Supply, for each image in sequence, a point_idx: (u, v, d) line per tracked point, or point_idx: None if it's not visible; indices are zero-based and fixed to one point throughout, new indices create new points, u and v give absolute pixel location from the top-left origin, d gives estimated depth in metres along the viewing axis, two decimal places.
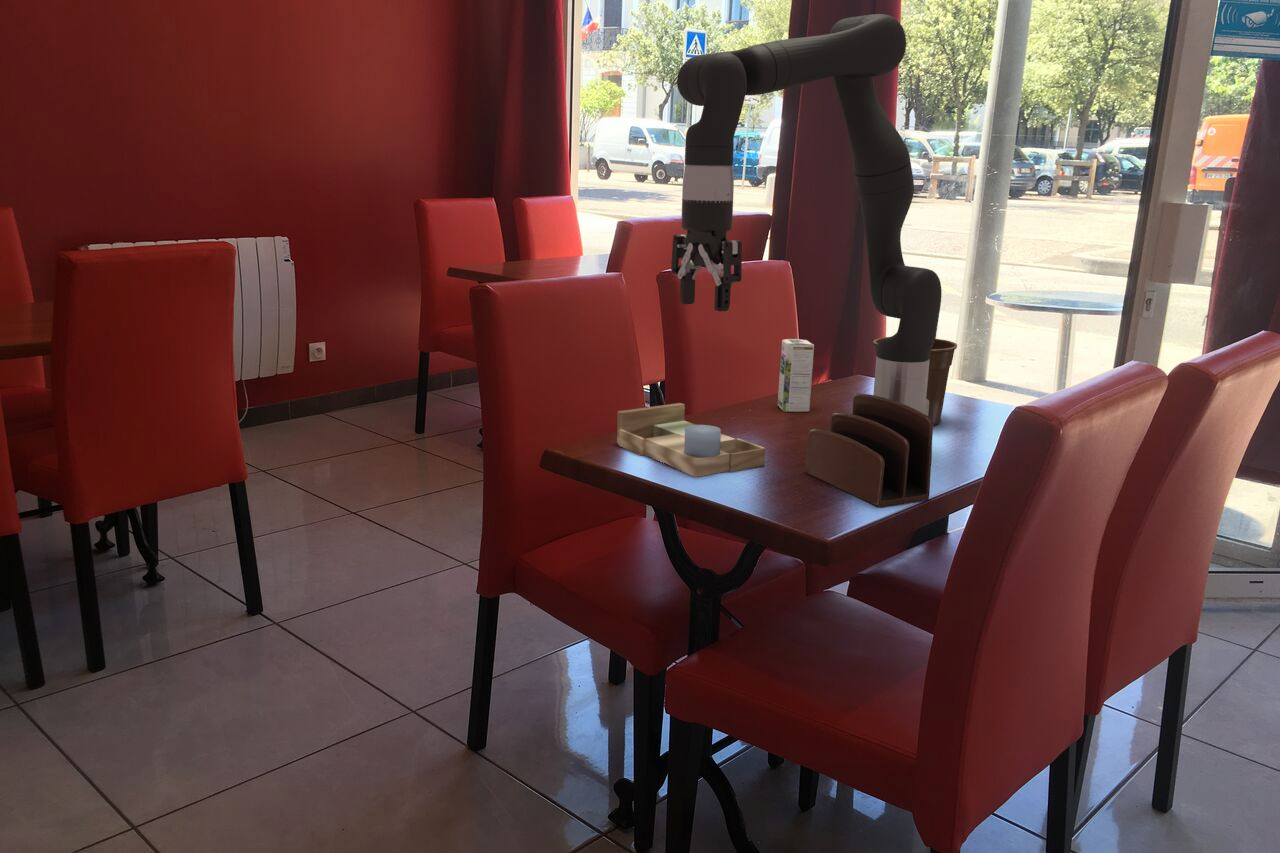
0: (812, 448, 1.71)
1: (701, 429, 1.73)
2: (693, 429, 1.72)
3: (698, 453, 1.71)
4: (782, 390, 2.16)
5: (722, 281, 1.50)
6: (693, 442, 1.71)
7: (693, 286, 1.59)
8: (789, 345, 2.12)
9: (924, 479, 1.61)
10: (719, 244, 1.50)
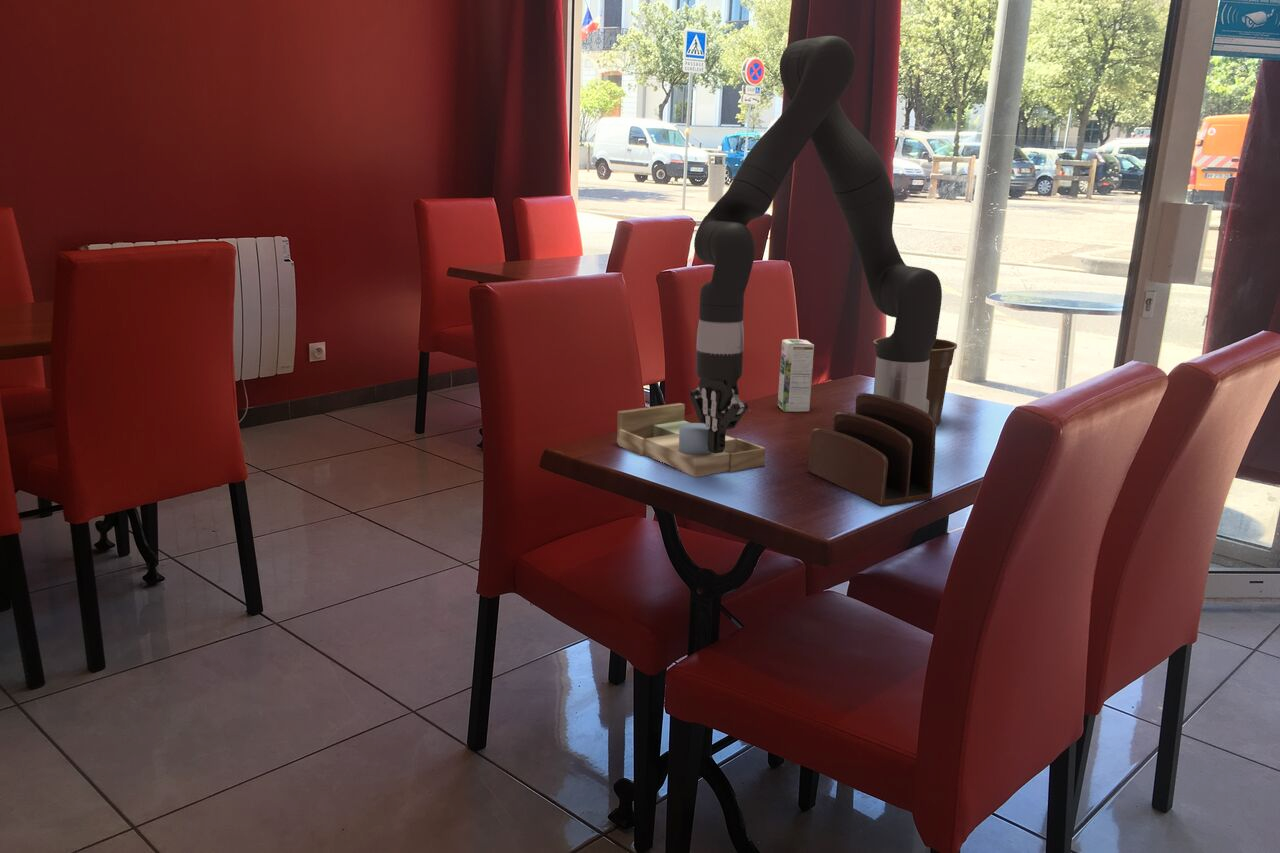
0: (815, 447, 1.72)
1: (696, 427, 1.74)
2: (688, 427, 1.74)
3: (693, 451, 1.72)
4: (782, 390, 2.16)
5: (717, 430, 1.68)
6: (688, 440, 1.72)
7: None
8: (789, 345, 2.12)
9: (927, 478, 1.61)
10: (730, 396, 1.64)
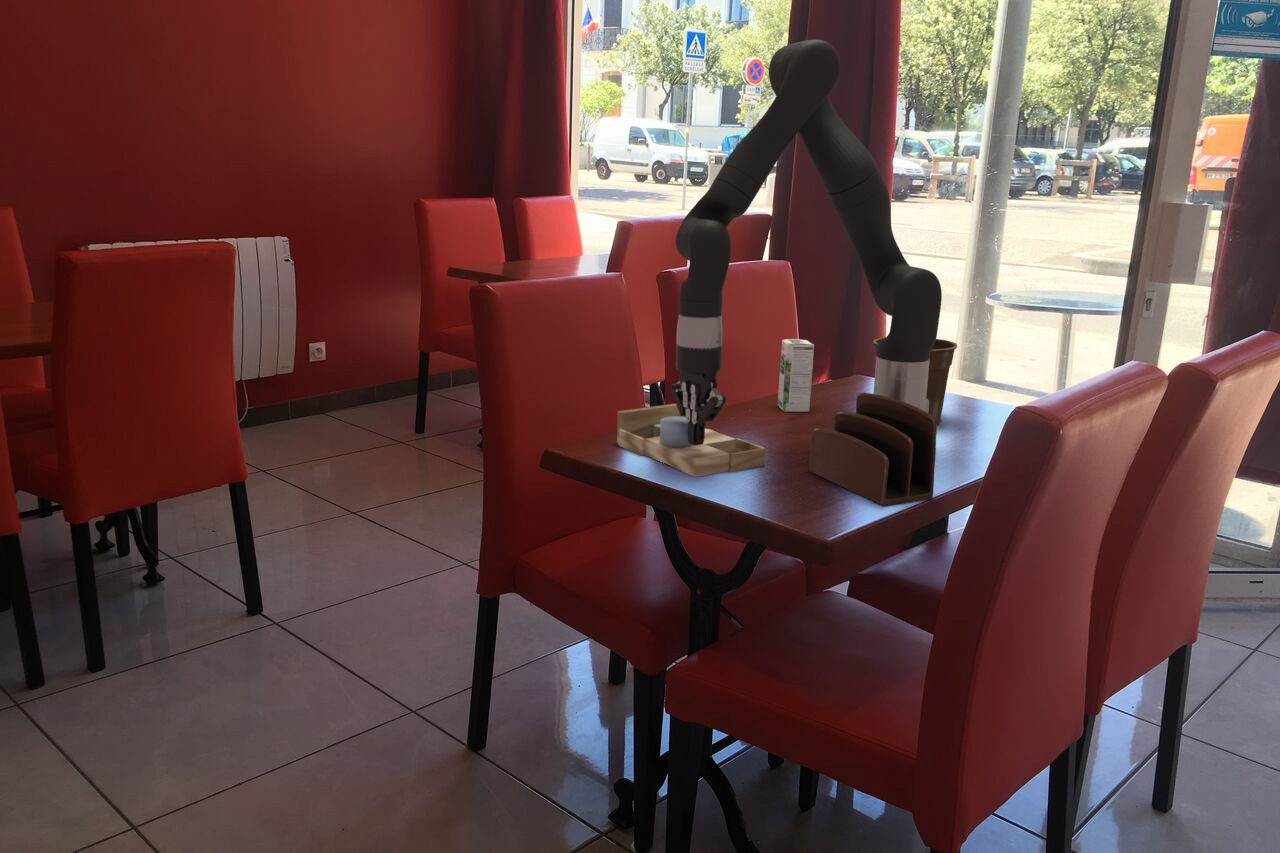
0: (816, 447, 1.72)
1: (676, 420, 1.78)
2: (668, 420, 1.78)
3: (673, 444, 1.76)
4: (782, 390, 2.16)
5: (697, 423, 1.72)
6: (668, 433, 1.76)
7: None
8: (789, 345, 2.12)
9: (928, 478, 1.61)
10: (708, 390, 1.69)
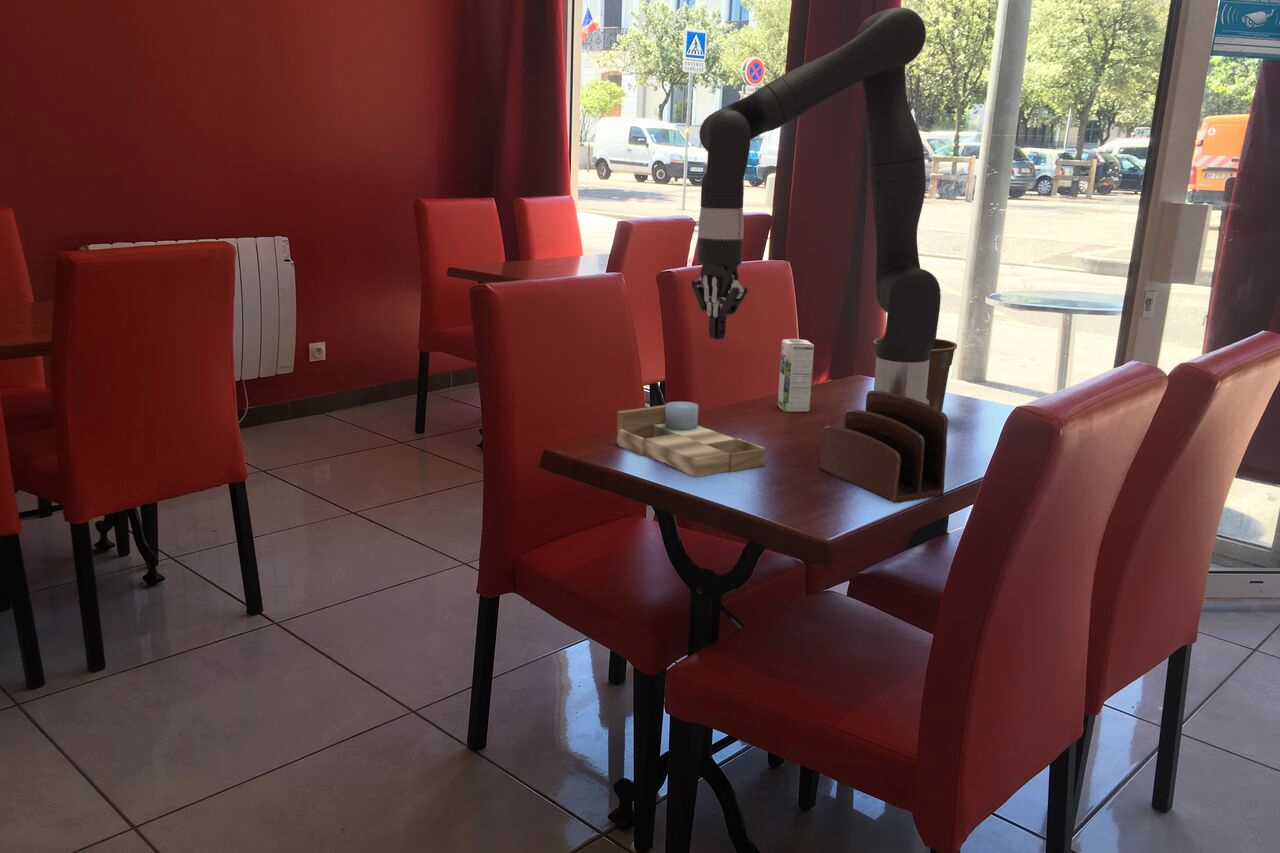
0: (827, 445, 1.74)
1: (680, 405, 1.90)
2: (673, 405, 1.90)
3: (676, 426, 1.88)
4: (782, 390, 2.16)
5: (718, 316, 1.75)
6: (671, 416, 1.88)
7: None
8: (789, 345, 2.12)
9: (938, 474, 1.63)
10: (730, 281, 1.71)
